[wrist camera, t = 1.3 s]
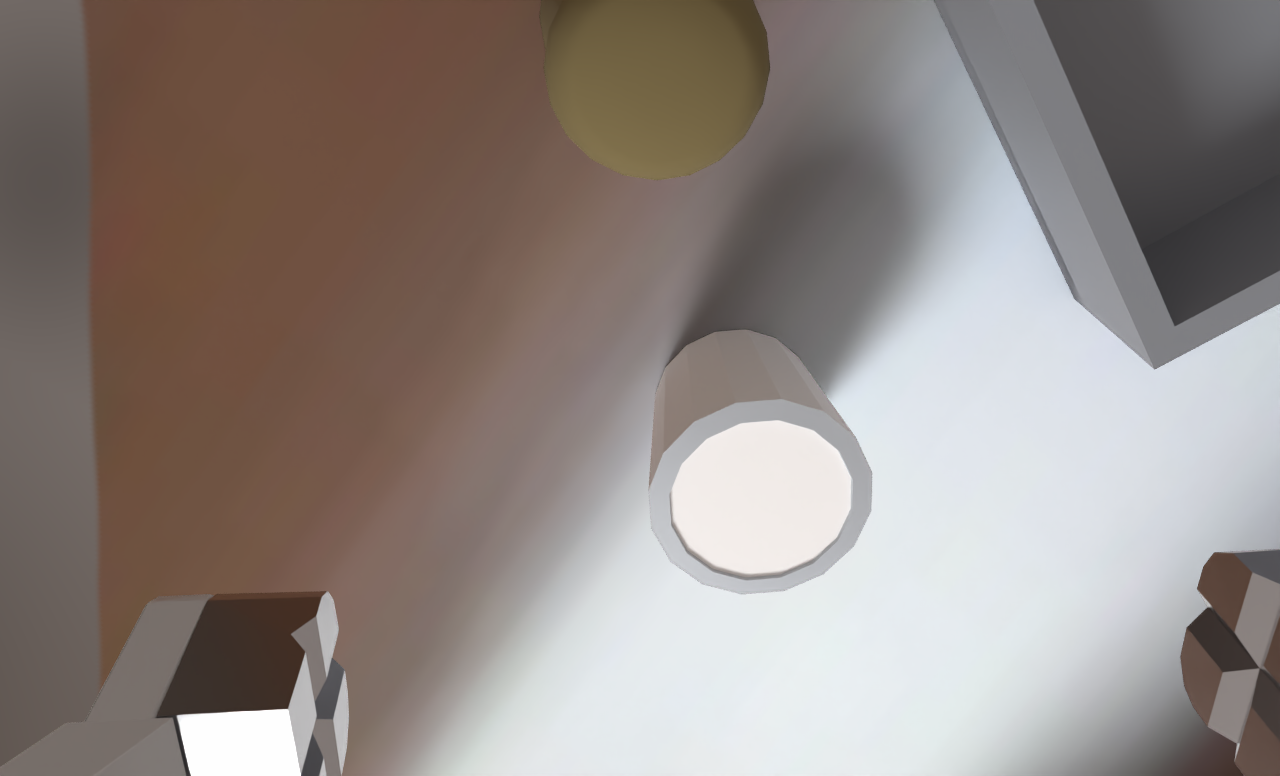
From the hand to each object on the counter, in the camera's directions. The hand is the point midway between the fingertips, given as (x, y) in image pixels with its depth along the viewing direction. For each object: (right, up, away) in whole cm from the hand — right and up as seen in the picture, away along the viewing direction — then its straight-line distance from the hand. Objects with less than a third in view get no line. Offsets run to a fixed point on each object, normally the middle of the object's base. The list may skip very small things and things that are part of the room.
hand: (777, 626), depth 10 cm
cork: (-1, +14, +24) cm, 28 cm away
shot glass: (+2, +2, +30) cm, 30 cm away
